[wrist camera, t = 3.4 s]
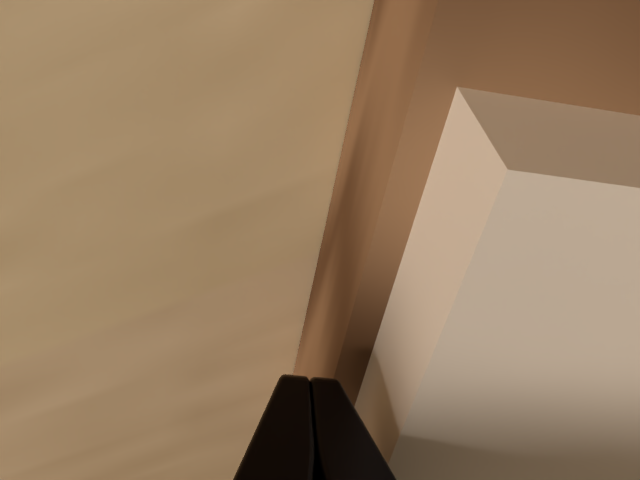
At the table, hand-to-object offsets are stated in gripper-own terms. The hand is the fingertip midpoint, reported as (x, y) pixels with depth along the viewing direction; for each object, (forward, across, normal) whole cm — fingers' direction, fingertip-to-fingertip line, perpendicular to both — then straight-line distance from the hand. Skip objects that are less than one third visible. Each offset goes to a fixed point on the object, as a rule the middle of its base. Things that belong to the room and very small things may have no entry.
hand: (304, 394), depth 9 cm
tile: (+1, -4, 0) cm, 4 cm away
